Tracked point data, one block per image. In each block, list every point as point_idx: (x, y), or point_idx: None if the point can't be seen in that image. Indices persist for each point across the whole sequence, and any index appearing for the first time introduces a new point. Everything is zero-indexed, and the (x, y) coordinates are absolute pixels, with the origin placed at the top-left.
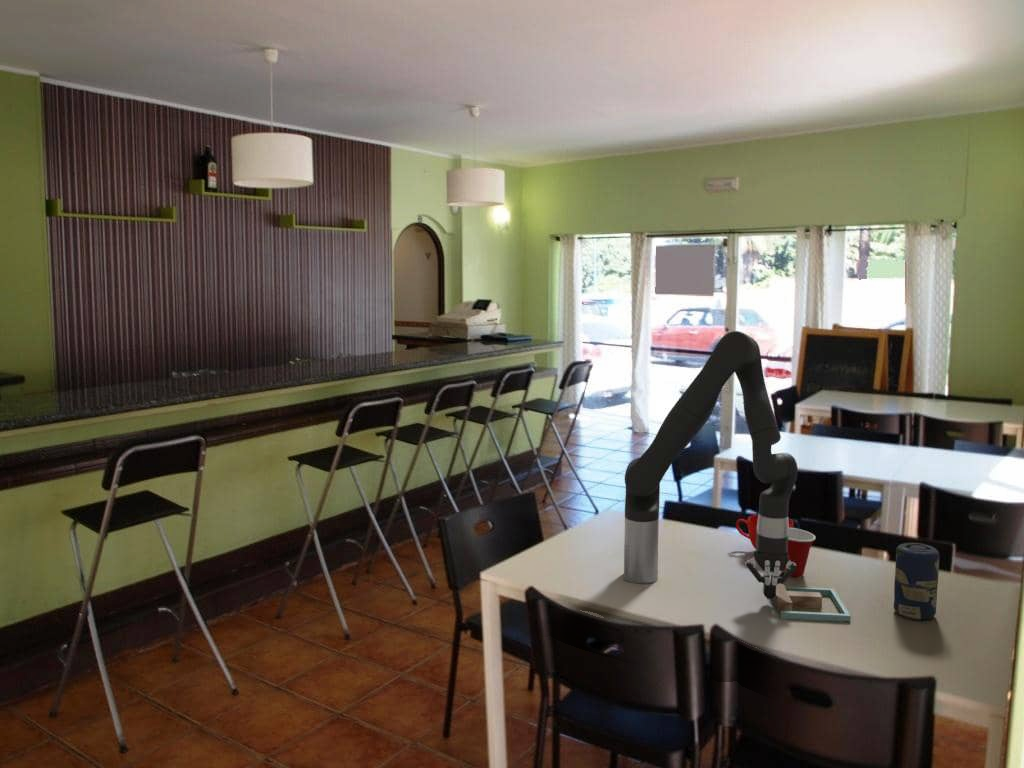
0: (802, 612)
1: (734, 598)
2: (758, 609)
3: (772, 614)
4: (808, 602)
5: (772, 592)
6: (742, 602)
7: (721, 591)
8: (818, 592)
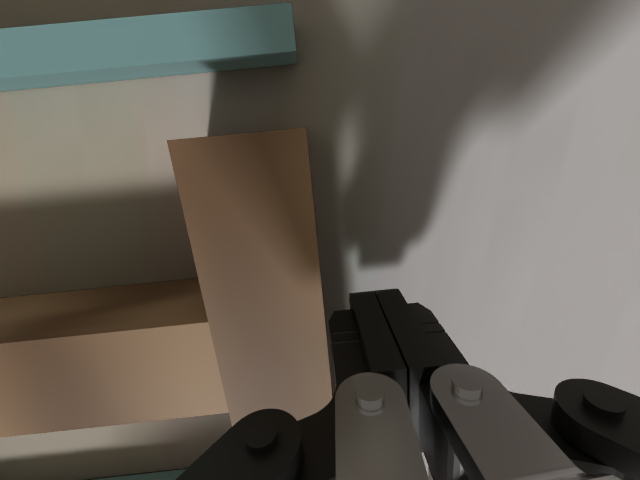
0: (84, 51)
1: (576, 329)
2: (454, 179)
3: (360, 100)
4: (65, 310)
5: (365, 320)
6: (540, 278)
7: None
8: None
